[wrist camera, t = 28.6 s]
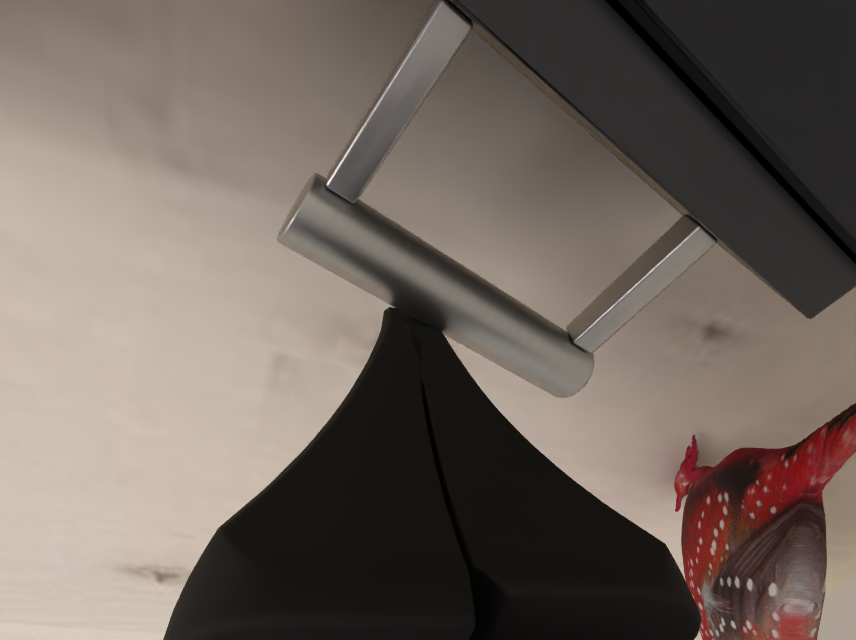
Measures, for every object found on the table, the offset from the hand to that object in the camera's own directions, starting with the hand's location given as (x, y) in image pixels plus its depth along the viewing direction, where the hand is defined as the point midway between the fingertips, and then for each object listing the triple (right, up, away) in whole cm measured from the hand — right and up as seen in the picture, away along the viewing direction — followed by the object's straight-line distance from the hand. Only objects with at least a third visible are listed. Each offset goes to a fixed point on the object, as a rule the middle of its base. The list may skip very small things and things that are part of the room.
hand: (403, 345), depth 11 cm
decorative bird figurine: (+12, -4, +10) cm, 16 cm away
